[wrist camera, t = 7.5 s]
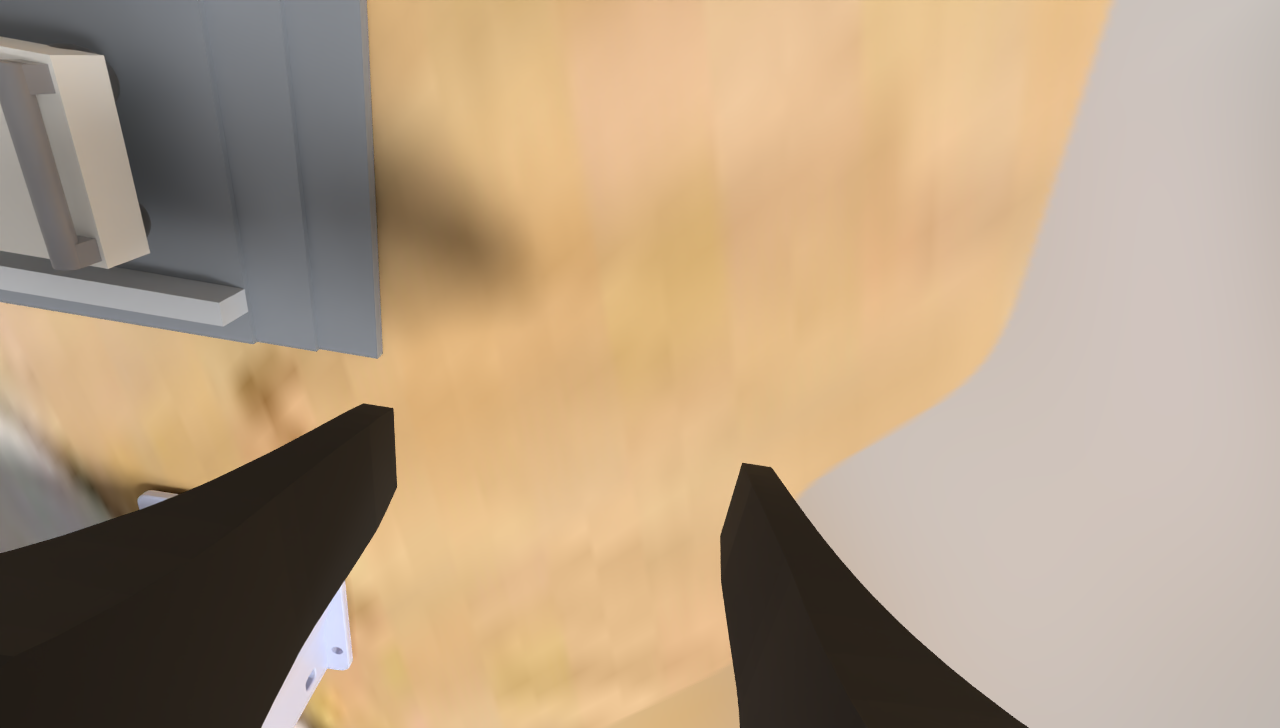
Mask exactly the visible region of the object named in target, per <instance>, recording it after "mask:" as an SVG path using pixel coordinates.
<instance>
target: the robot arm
mask: <svg viewBox="0 0 1280 728" xmlns="http://www.w3.org/2000/svg"><path fill="white" fill-rule="evenodd" d="M396 488H397V476H396V454H395V433H394V412H393V408H389V407H382V406H376V405H369V404H361V405H359V406H357V407H355V408H353V409H351V410H349V411H347V412H345V413H343V414H341V415H339V416H338V417H336V418H334V419H332V420H330V421H328V422H326V423H325V424H323V425H321V426H319V427H317V428H315V429H314V430H312V431H310V432H308V433H306V434H304V435H302V436H300V437H299V438H297V439H295V440H293V441H291V442H289V443H287V444H285V445H283V446H282V447H280V448H278V449H276V450H274V451H272V452H270V453H268V454H266V455H264V456H262V457H260V458H258V459H256V460H254V461H251V462H249V463H247V464H245V465H243V466H241V467H239V468H237V469H235V470H233V471H231V472H229V473H227V474H224V475H222V476H220V477H218V478H216V479H214V480H212V481H209V482H207V483H205V484H203V485H200V486H198V487H196V488H193V489H191V490H189V491H186V492H184V493H181V494H174V493H168V492H161V491H155V490H148V491H146V492H144V493H143V494H142V495H140V496H139V498H138V499H137V502H138V506H139V509H140V510H138V511H135V512H132V513H129V514H126V515H123V516H120V517H117V518H114V519H111V520H108V521H105V522H102V523H99V524H96V525H93V526H90V527H87V528H84V529H81V530H78V531H75V532H72V533H69V534H66V535H63V536H60V537H56V538H53V539H50V540H46V541H43V542H39V543H36V544H32V545H29V546H26V547H22V548H19V549H15V550H11V551H8V552H4V553H0V728H294V726H295V725H296V723H297V721H298V719H299V718H300V716H301V714H302V712H303V710H304V709H305V707H306V705H307V703H308V702H309V700H310V698H311V696H312V694H313V693H314V691H315V689H316V687H317V686H318V684H319V682H320V680H321V678H322V677H323V675H324V673H325V671H326V670H327V668H329V669H335V670H345V669H348V668H349V667H350V665H351V663H352V660H353V656H352V646H351V636H350V626H349V616H348V606H347V596H346V586H345V579H346V578H347V576H348V575H349V573H350V571H351V570H352V568H353V567H354V565H355V564H356V562H357V561H358V559H359V558H360V556H361V554H362V553H363V551H364V550H365V548H366V547H367V545H368V543H369V542H370V540H371V539H372V537H373V535H374V534H375V532H376V531H377V529H378V527H379V525H380V523H381V520H382V518H383V516H384V514H385V512H386V510H387V508H388V506H389V504H390V501H391V499H392V497H393V495H394V493H395V490H396ZM720 545H721V583H722V591H723V598H724V605H725V612H726V619H727V626H728V633H729V640H730V646H731V653H732V660H733V667H734V673H735V680H736V687H737V696H738V706H739V717H740V718H739V719H740V728H1028V727H1027V726H1025V725H1024V724H1022V723H1021V722H1020V721H1018V720H1017V719H1015V718H1014V717H1013V716H1011V715H1010V714H1009V713H1007V712H1006V711H1005V710H1003V709H1002V708H1001V707H999V706H998V705H997V704H996V703H994V702H993V701H992V700H990V699H989V698H988V697H986V696H985V695H984V694H982V693H981V692H980V691H979V690H977V689H976V688H975V687H973V686H972V685H971V684H970V683H968V682H967V681H966V680H965V679H963V678H962V677H961V676H960V675H958V674H957V673H956V672H955V671H954V670H952V669H951V668H950V667H949V666H947V665H946V664H945V663H944V662H943V661H942V660H941V659H939V658H938V657H937V656H936V655H935V654H934V653H933V652H931V651H930V650H929V649H928V648H927V647H926V646H924V645H923V644H922V643H921V642H920V641H919V640H918V639H916V638H915V637H914V636H913V635H912V634H911V633H910V632H909V631H908V630H907V629H906V628H905V627H904V626H903V625H902V624H900V623H899V622H898V621H897V620H896V619H895V618H894V617H893V616H892V615H891V614H890V613H889V612H888V611H887V610H886V609H885V608H884V607H883V606H882V605H881V604H880V603H879V602H878V601H877V600H876V599H875V598H874V597H873V596H872V594H871V593H870V592H869V591H868V590H867V589H866V588H865V587H864V586H863V585H862V584H861V583H860V581H859V580H858V579H857V578H856V577H855V576H854V575H853V573H852V572H851V571H850V570H849V569H848V568H847V567H846V565H845V564H844V563H843V562H842V561H841V560H840V559H839V557H838V556H837V555H836V554H835V552H834V551H833V550H832V549H831V548H830V546H829V545H828V544H827V543H826V541H825V540H824V539H823V537H822V536H821V535H820V534H819V532H818V531H817V530H816V528H815V527H814V526H813V524H812V523H811V522H810V520H809V519H808V518H807V516H806V515H805V514H804V512H803V511H802V510H801V508H800V507H799V505H798V504H797V503H796V501H795V500H794V498H793V497H792V496H791V494H790V493H789V491H788V490H787V489H786V487H785V486H784V484H783V483H782V481H781V480H780V479H779V477H778V476H777V474H776V473H775V472H774V470H773V469H772V468H771V467H766V466H759V465H753V464H746V463H742V466H741V469H740V472H739V476H738V479H737V482H736V486H735V489H734V492H733V496H732V499H731V502H730V506H729V509H728V512H727V516H726V519H725V522H724V526H723V529H722V533H721V536H720Z"/></svg>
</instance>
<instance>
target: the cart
mask: <svg viewBox="0 0 1280 728" xmlns="http://www.w3.org/2000/svg"><path fill="white" fill-rule="evenodd" d="M119 94H120V83H119V80H118V77H117V75H116V73H115V71H114V70H113V68H112V67H111V66H110V64H109V63H108V62H107V61H106V60H105V58H104V55H99V54H97V53H95V52H93V51H92V50H90V49H88V48H85V47H83V46H80V45H76V44H72V43H54V44H50V45H45V44H39V43H34V42H28V41H23V40H17V39H12V38H6V37H1V36H0V251H6V252H11V253H17V254H23V255H29V256H35V257H41V258H47V259H50V261H51V264H52V267H53V269H55V270H61V271H70V270H77V269H81V268H84V267H87V266H94V267H100V268H105V269H109V268H112V267H114V266H117V265H120V264H122V263H125V262H128V261H130V260H133V259H136V258H138V257H141V256H144V255H146V254H149V253H150V250H149V246H148V241H147V237H148V235H149V233H150V230H151V220H150V216H149V214H148V212H147V211H146V209H145V208H144V207H143V206H142V205H141V204H140V203H139V202H138V199H137V194H136V190H135V186H134V182H133V177H132V173H131V169H130V164H129V160H128V156H127V152H126V147H125V143H124V139H123V135H122V130H121V126H120V122H119V117H118V113H117V109H116V105H115V103H116V102H117V100H118V98H119Z"/></svg>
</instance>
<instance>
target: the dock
mask: <svg viewBox="0 0 1280 728" xmlns="http://www.w3.org/2000/svg"><path fill="white" fill-rule="evenodd" d="M0 36H1V37H6V38H12V39H17V40H23V41H28V42H34V43H39V44H45V45H50V44H54V43H72V44H76V45H80V46H83V47H85V48H88V49H90V50H92V51H93V52H95V53H97V54H99V55H104V58H105V60H106V61H107V62H108V63H109V64H110V66H111V67H112V68H113V70H114V71H115V73H116V75H117V77H118V80H119V83H120V94H119V98H118V100H117V102H116V103H115V105H116V109H117V113H118V117H119V122H120V126H121V130H122V135H123V139H124V143H125V147H126V152H127V156H128V160H129V164H130V169H131V173H132V177H133V182H134V186H135V190H136V194H137V199H138V202H139V203H140V204H141V205H142V206H143V207H144V208H145V209H146V211H147V212H148V214H149V216H150V220H151V230H150V233H149V235H148V237H147V241H148V246H149V250H150V253H149V254H146V255H144V256H141V257H138V258H136V259H133V260H130V261H128V262H125V263H122V264H120V265H117V266H114V267H112V268H109V269H105V268H100V267H94V266H87V267H84V268H81V269H77V270H70V271H61V270H55V269H53V267H52V264H51V261H50V259H47V258H41V257H35V256H29V255H23V254H17V253H11V252H6V251H0V302H4V303H10V304H16V305H22V306H28V307H34V308H40V309H46V310H52V311H58V312H64V313H70V314H76V315H82V316H88V317H94V318H100V319H106V320H112V321H118V322H124V323H130V324H136V325H142V326H148V327H154V328H160V329H166V330H172V331H177V332H183V333H189V334H195V335H201V336H207V337H213V338H219V339H225V340H231V341H237V342H243V343H249V344H254V343H256V342H262V343H268V344H274V345H280V346H286V347H292V348H298V349H304V350H310V351H318V350H319V349H323V350H329V351H335V352H341V353H347V354H353V355H359V356H365V357H371V358H376V359H378V358H379V357H380V356H381V355H382V354H383V350H382V328H381V306H380V284H379V262H378V240H377V217H376V195H375V173H374V151H373V129H372V107H371V85H370V62H369V40H368V18H367V0H0Z"/></svg>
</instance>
